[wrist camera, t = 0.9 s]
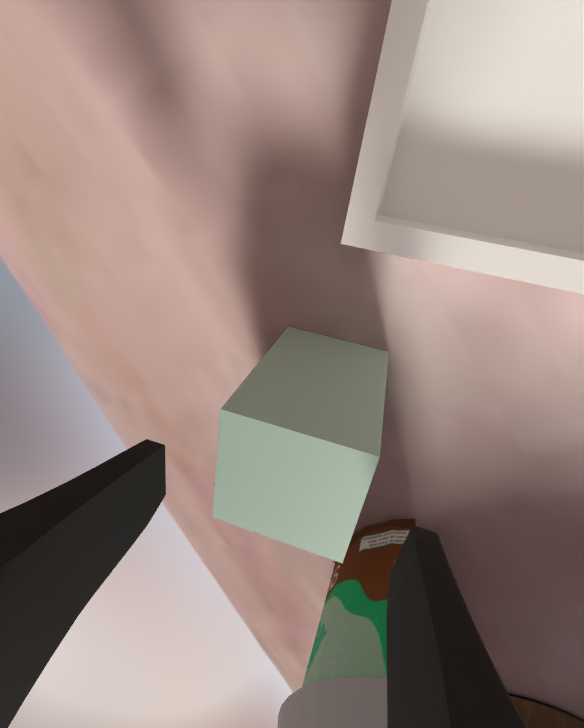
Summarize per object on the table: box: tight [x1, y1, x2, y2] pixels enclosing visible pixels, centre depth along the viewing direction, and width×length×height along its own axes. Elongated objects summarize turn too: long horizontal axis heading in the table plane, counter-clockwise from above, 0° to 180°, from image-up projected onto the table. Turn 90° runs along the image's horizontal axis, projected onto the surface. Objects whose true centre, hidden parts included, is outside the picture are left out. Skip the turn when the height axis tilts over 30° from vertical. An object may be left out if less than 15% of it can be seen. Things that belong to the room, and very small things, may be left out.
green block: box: [213, 326, 389, 563], centre depth 14 cm, size 4×4×7 cm
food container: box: [278, 519, 416, 728], centre depth 17 cm, size 12×6×10 cm, turn 14°
